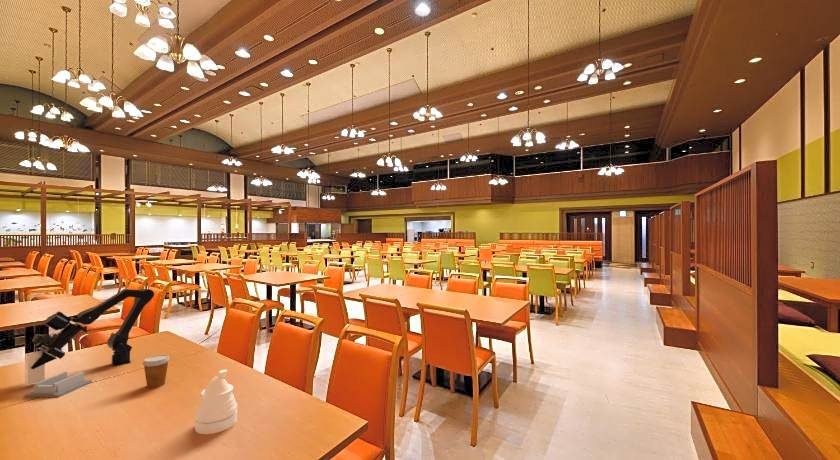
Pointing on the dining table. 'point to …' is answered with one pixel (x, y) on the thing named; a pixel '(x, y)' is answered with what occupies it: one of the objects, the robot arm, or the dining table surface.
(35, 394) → the slot rack
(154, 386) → the disposable coffee cup
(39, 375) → the cream block
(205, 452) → the dining table surface
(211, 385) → the honey pot
